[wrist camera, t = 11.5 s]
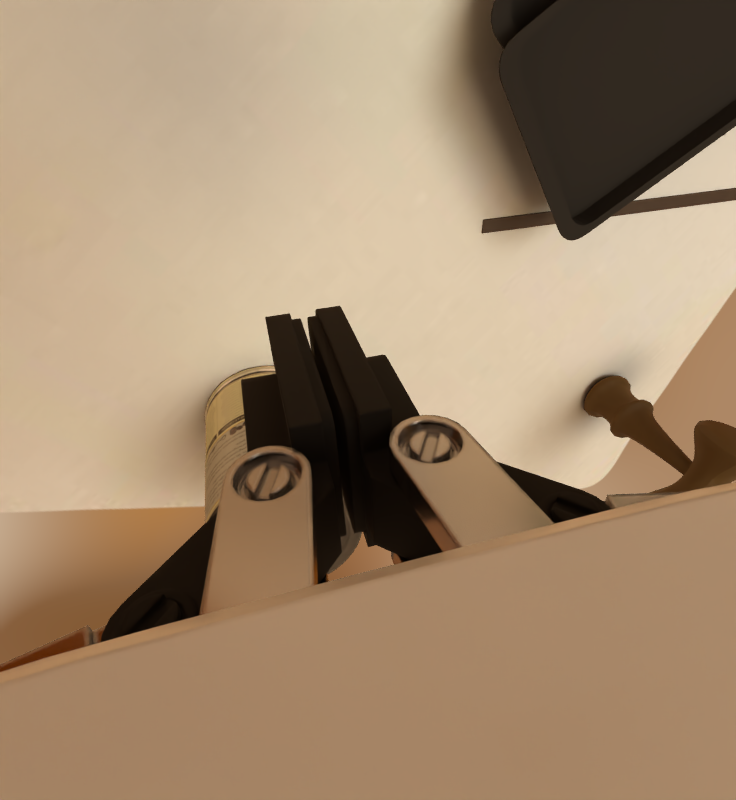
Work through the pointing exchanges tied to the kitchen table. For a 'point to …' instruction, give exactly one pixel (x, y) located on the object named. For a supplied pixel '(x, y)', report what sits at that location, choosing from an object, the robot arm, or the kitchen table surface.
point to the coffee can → (241, 447)
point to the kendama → (666, 436)
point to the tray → (614, 94)
